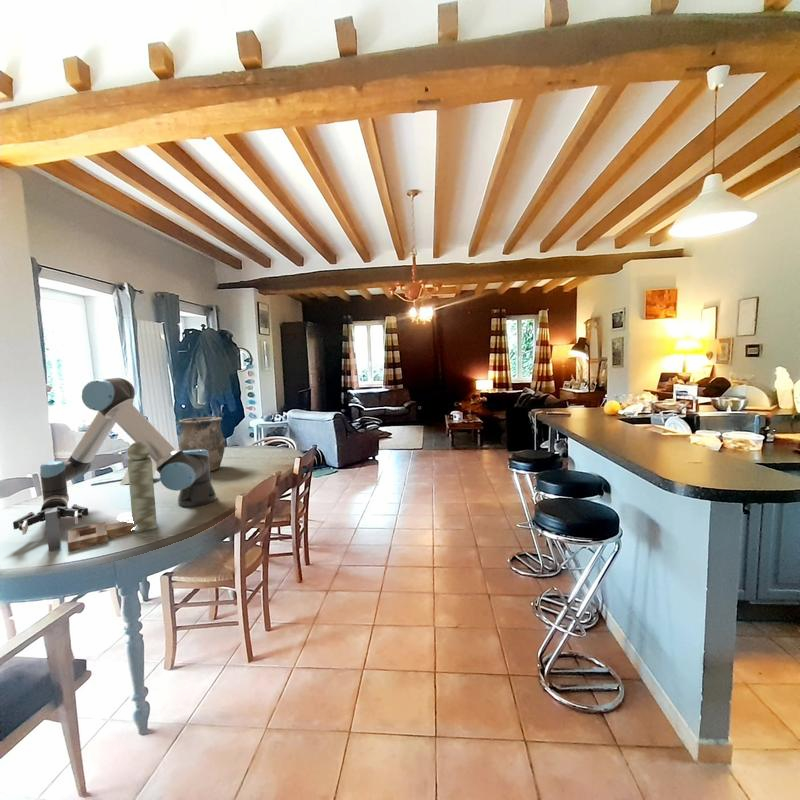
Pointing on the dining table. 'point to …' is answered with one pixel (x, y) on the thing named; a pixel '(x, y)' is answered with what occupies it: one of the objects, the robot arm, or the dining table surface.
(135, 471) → the knobbed post on base
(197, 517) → the dining table surface
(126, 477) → the wall
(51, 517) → the grey rectangular block
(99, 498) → the dining table surface
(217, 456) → the clay pot
